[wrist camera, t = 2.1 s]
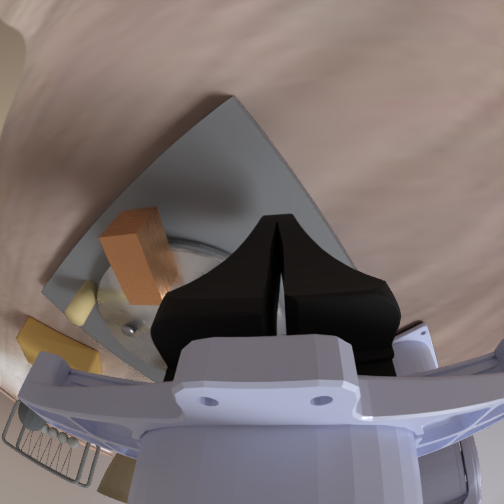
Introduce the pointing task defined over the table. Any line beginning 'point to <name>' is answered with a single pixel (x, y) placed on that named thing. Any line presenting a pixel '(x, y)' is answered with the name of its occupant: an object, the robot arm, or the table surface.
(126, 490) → the plant pot
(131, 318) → the flange plate
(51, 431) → the newton's cradle
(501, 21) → the table surface
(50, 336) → the rubber stamp
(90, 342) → the table surface
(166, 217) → the base board
